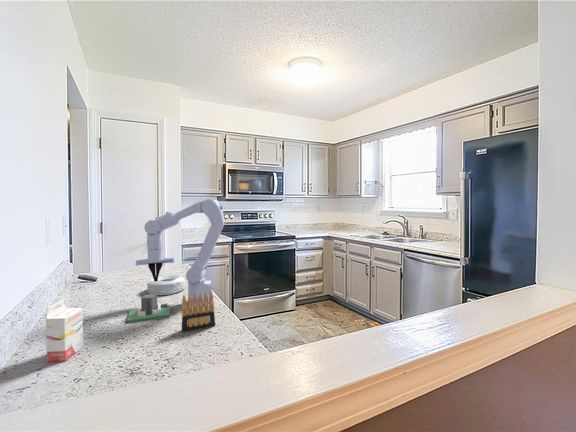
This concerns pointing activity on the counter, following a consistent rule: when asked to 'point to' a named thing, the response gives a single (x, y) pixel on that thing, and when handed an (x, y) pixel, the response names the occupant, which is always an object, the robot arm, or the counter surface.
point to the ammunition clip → (197, 313)
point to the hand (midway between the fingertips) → (155, 281)
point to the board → (140, 315)
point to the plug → (149, 303)
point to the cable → (166, 285)
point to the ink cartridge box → (63, 331)
